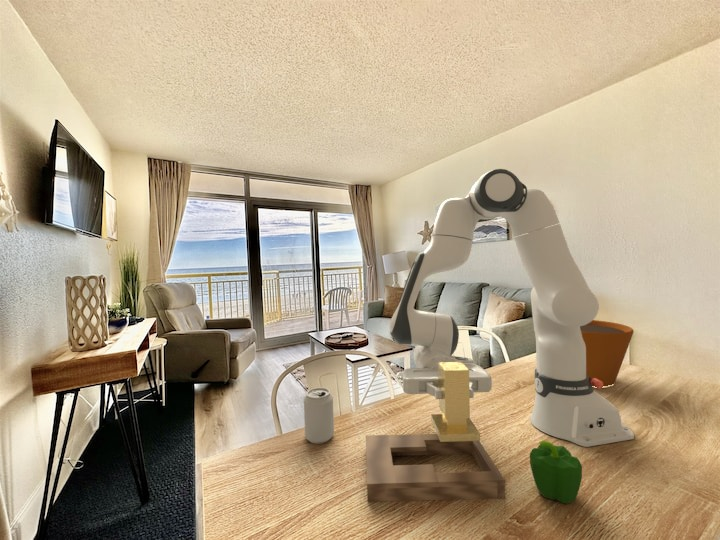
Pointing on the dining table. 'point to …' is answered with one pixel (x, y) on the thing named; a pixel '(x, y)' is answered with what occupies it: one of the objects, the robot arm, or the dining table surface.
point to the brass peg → (454, 405)
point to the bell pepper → (556, 472)
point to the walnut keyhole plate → (427, 470)
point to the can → (318, 415)
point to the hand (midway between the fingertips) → (454, 395)
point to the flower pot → (605, 349)
